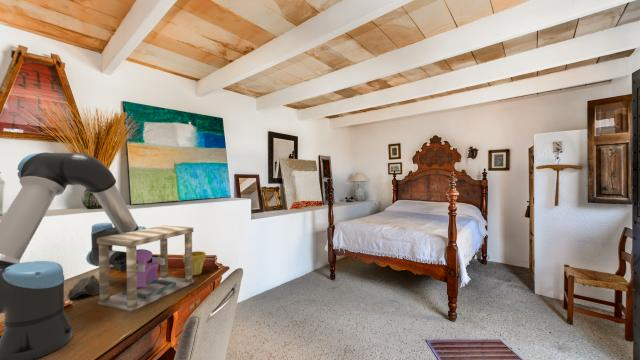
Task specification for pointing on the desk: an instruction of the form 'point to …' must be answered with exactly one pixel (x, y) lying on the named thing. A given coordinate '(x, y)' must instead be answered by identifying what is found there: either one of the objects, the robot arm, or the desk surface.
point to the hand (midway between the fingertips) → (154, 264)
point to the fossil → (85, 287)
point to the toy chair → (146, 267)
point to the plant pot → (197, 261)
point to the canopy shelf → (134, 294)
